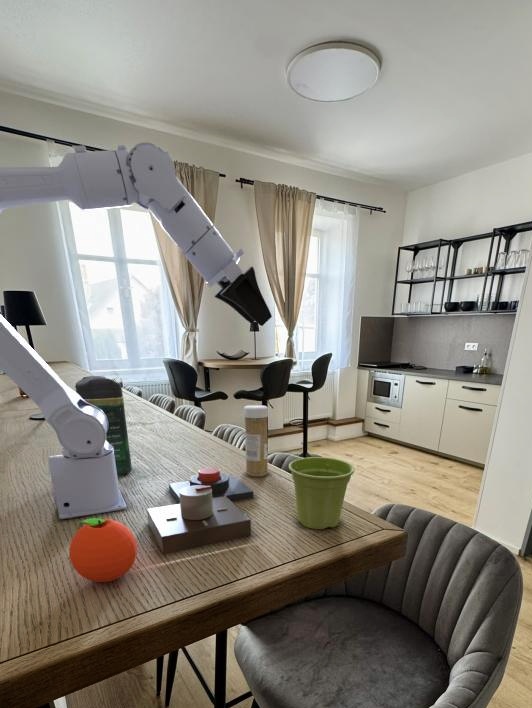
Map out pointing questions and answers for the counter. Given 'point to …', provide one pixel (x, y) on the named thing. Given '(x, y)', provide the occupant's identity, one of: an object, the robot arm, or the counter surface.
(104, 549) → the clementine
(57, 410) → the robot arm
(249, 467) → the spice jar
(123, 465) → the coffee jar
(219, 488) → the switch block
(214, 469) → the switch button
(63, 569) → the counter surface
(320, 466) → the plant pot
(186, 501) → the dial
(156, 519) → the dimmer plate
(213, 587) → the counter surface
